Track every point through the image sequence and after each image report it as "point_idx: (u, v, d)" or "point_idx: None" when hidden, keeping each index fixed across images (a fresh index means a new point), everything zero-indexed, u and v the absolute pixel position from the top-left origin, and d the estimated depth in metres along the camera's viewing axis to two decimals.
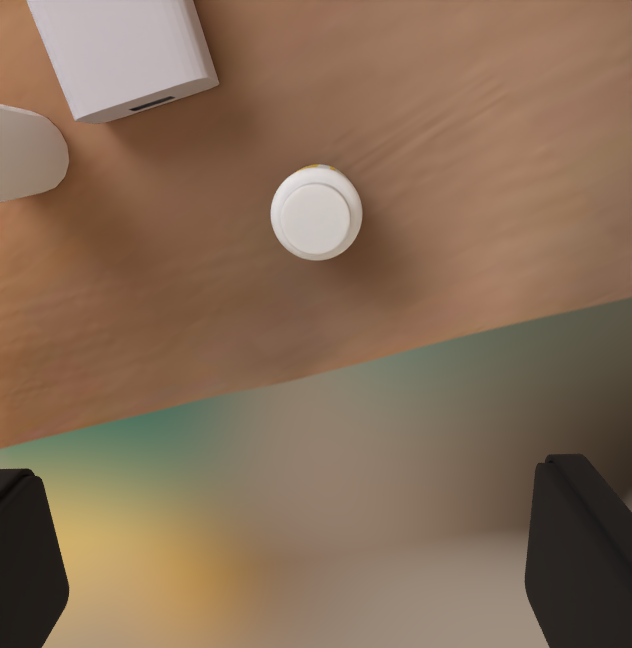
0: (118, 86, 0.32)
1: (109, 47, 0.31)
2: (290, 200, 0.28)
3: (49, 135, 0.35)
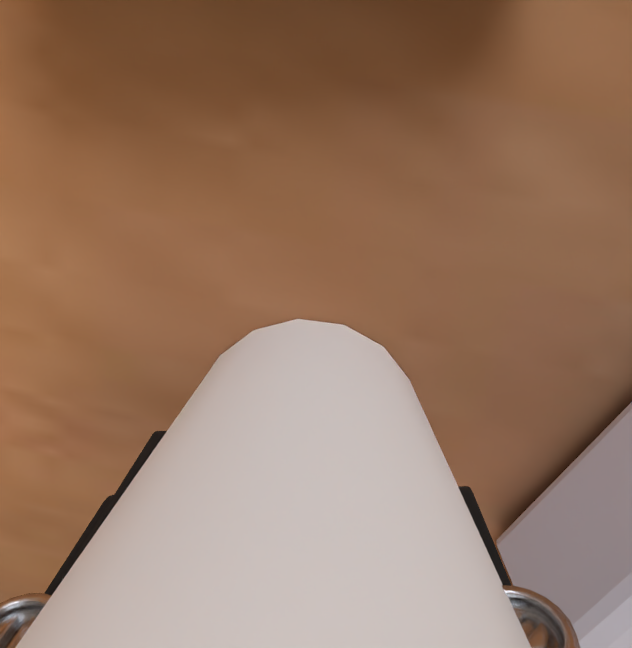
0: None
1: None
2: None
3: None
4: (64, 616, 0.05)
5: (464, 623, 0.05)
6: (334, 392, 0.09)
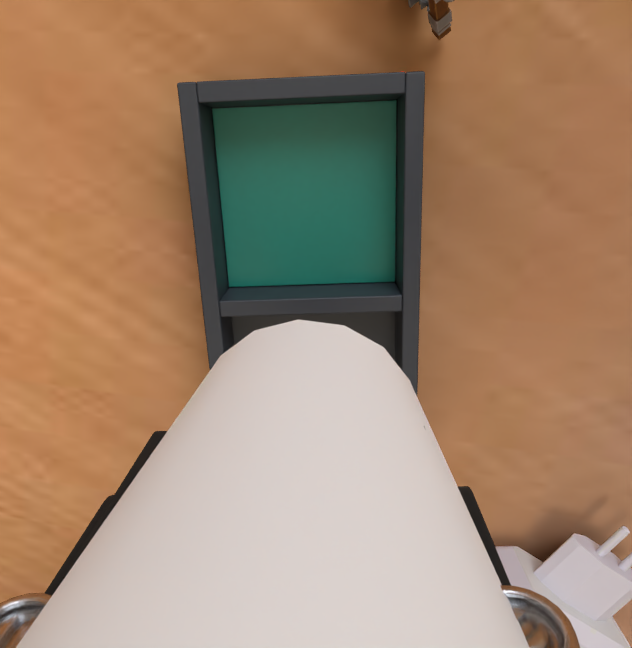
0: None
1: None
2: None
3: None
4: (64, 617, 0.05)
5: (463, 625, 0.05)
6: (334, 393, 0.09)
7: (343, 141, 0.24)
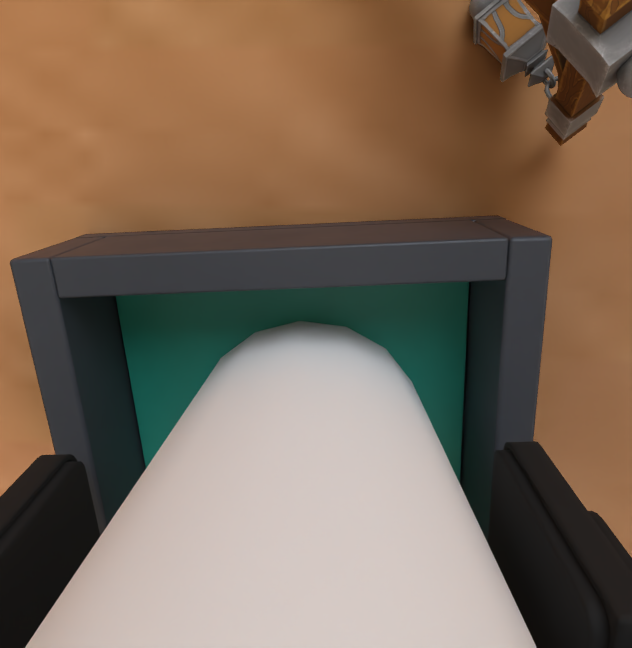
0: None
1: None
2: None
3: None
4: (67, 628, 0.05)
5: (475, 634, 0.05)
6: (338, 396, 0.08)
7: (365, 330, 0.12)
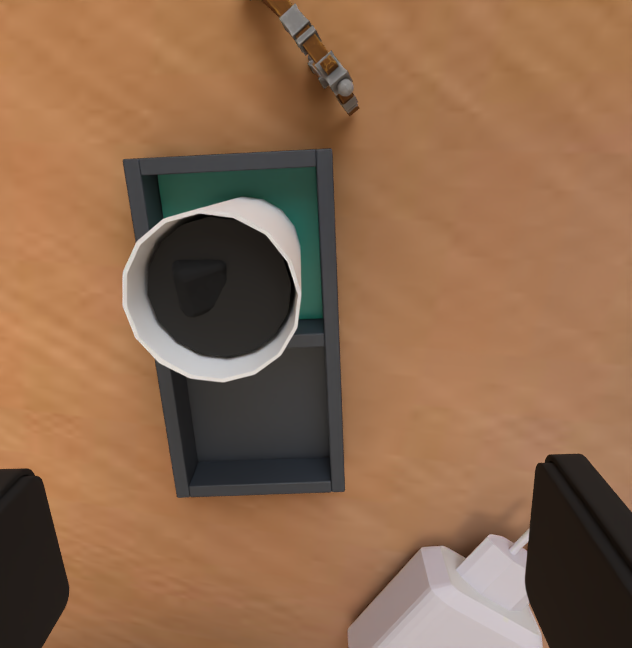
0: None
1: None
2: None
3: None
4: None
5: (264, 222, 0.20)
6: (247, 202, 0.24)
7: (272, 200, 0.28)
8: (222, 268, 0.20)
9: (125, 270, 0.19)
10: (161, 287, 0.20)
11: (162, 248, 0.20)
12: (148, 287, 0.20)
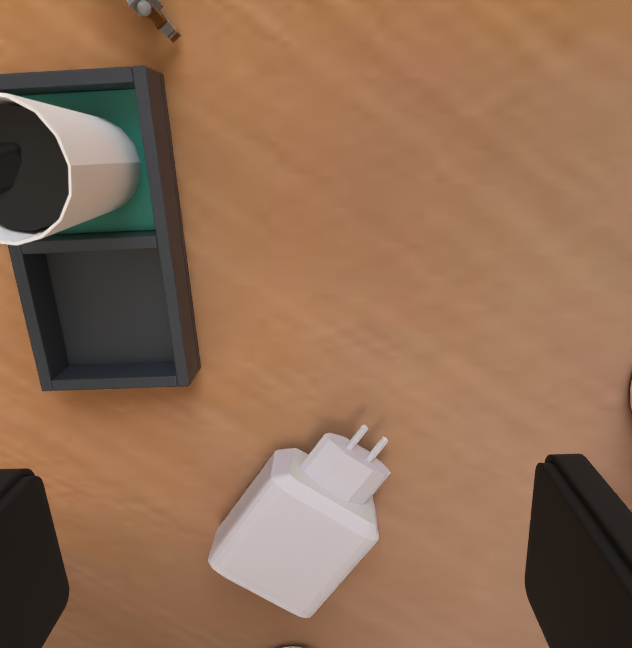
0: (256, 582, 0.38)
1: (276, 564, 0.37)
2: None
3: (126, 190, 0.31)
4: None
5: (49, 110, 0.24)
6: None
7: (112, 120, 0.32)
8: (14, 149, 0.24)
9: None
10: None
11: None
12: None
